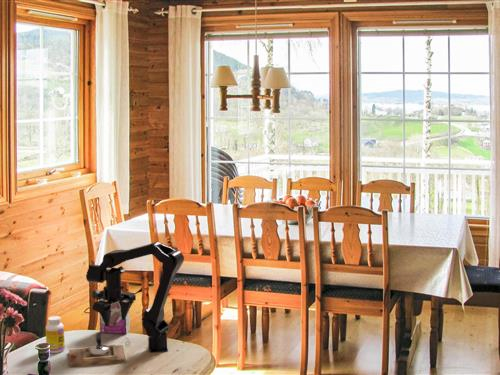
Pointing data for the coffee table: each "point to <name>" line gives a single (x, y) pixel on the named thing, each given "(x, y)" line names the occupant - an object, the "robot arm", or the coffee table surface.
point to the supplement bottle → (55, 334)
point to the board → (84, 359)
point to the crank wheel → (99, 348)
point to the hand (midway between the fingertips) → (115, 323)
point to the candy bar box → (115, 321)
